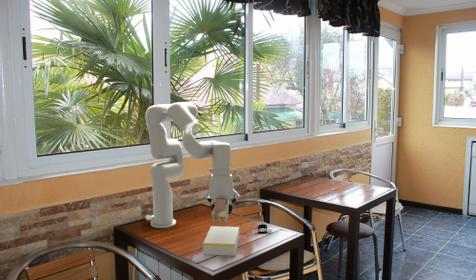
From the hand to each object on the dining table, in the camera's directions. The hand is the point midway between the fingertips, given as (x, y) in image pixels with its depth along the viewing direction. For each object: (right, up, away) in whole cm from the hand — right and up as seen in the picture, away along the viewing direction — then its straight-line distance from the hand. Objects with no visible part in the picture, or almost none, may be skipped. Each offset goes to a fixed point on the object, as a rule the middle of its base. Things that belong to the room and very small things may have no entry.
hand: (222, 212), depth 171 cm
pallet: (0, -1, 0) cm, 1 cm away
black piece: (+18, -13, +19) cm, 29 cm away
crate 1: (-1, +2, -6) cm, 6 cm away
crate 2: (0, +4, +5) cm, 6 cm away
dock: (0, -15, +2) cm, 15 cm away
